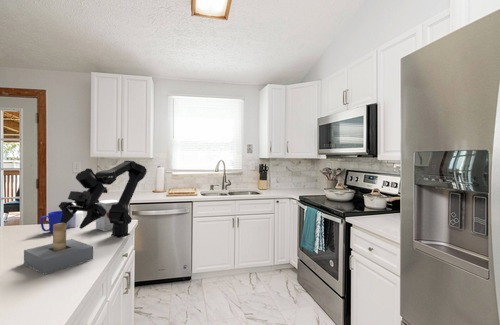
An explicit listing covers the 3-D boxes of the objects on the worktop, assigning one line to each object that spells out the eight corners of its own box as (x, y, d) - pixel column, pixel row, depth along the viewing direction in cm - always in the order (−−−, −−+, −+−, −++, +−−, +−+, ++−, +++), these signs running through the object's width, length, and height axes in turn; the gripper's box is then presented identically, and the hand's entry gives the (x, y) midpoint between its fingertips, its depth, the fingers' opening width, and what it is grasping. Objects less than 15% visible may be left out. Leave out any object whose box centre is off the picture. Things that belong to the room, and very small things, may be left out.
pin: (56, 256, 100) (56, 223, 100) (68, 256, 101) (68, 222, 101) (50, 261, 96) (50, 225, 96) (62, 260, 97) (62, 225, 97)
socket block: (71, 250, 110) (71, 238, 109) (93, 259, 102) (93, 246, 101) (23, 263, 96) (23, 250, 96) (44, 274, 88) (44, 259, 88)
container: (69, 223, 151) (69, 201, 151) (83, 223, 152) (83, 201, 151) (60, 227, 143) (61, 203, 143) (75, 227, 144) (75, 203, 144)
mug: (35, 234, 129) (35, 214, 129) (61, 228, 141) (61, 210, 140) (46, 236, 126) (46, 216, 126) (71, 230, 138) (71, 211, 137)
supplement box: (104, 231, 138) (104, 203, 137) (95, 228, 142) (95, 201, 142) (120, 227, 145) (121, 201, 145) (111, 225, 150) (112, 199, 150)
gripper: (62, 182, 109) (36, 214, 99) (101, 184, 106) (78, 217, 95) (78, 198, 117) (55, 229, 107) (114, 200, 114) (95, 233, 103)
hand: (70, 227), depth 103 cm, fingers open, 9 cm apart
